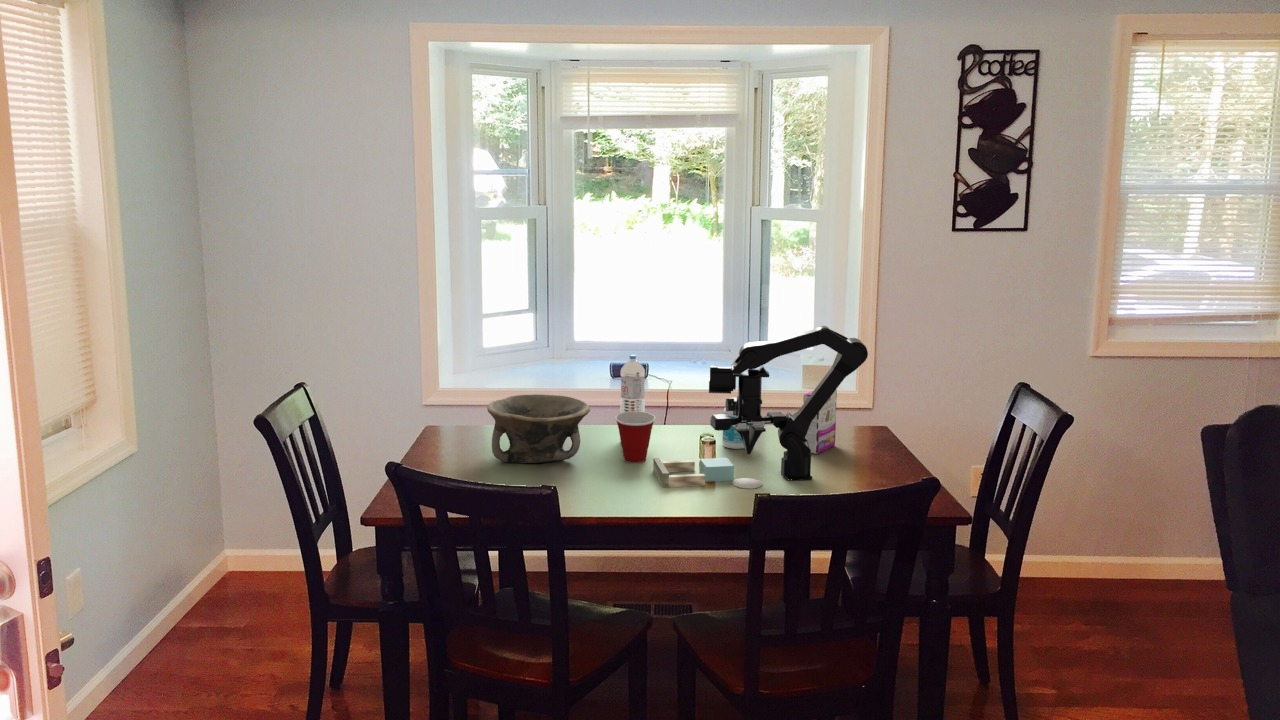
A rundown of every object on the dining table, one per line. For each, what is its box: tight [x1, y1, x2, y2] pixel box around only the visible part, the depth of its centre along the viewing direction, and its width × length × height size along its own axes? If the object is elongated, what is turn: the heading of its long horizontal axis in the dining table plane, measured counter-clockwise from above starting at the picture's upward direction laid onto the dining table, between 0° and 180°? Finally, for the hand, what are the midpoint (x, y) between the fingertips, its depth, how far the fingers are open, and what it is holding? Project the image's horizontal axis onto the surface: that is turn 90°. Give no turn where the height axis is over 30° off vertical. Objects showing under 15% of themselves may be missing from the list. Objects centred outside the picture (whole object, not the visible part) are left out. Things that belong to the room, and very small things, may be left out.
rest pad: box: [732, 477, 762, 490], centre depth 240 cm, size 7×7×1 cm
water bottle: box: [619, 354, 646, 413], centre depth 273 cm, size 7×7×25 cm
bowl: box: [486, 393, 591, 464], centre depth 258 cm, size 27×26×15 cm
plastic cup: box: [614, 411, 657, 464], centre depth 258 cm, size 11×11×12 cm
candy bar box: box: [802, 388, 838, 455], centre depth 269 cm, size 11×5×16 cm, turn 143°
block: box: [699, 457, 735, 483], centre depth 245 cm, size 7×7×4 cm
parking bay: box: [652, 457, 706, 488], centre depth 243 cm, size 10×13×4 cm
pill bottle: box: [722, 396, 749, 450], centre depth 271 cm, size 8×7×14 cm
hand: (748, 454), depth 246 cm, fingers closed
